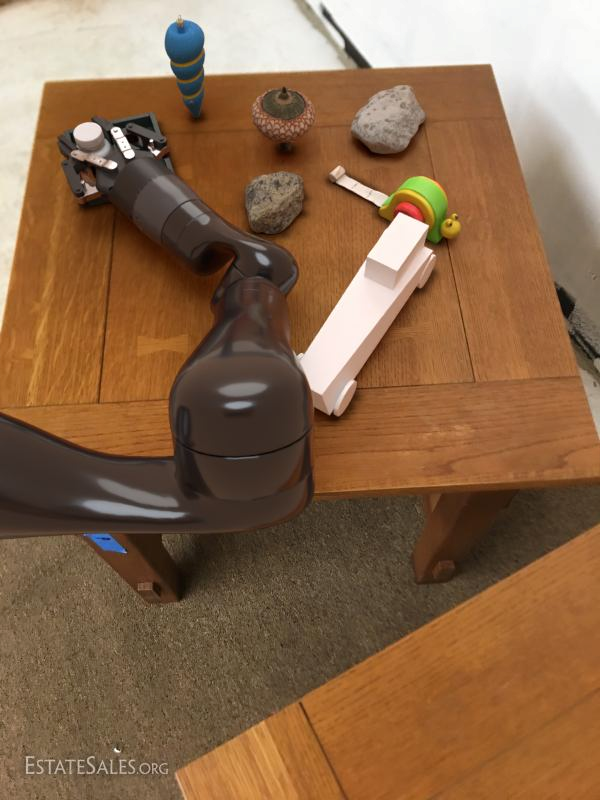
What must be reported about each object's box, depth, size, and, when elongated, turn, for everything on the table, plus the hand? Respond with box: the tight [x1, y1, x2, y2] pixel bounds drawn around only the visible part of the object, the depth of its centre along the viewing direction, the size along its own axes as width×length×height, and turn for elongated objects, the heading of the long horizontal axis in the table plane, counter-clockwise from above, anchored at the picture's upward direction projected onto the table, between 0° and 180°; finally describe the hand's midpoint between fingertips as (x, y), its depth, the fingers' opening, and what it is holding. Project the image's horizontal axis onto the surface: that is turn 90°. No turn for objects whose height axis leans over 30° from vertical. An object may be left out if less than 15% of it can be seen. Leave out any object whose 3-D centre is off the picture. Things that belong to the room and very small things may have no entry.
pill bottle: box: [73, 121, 113, 187], centre depth 82 cm, size 4×4×8 cm
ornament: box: [163, 14, 206, 119], centre depth 86 cm, size 5×5×15 cm
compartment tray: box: [63, 111, 175, 208], centre depth 87 cm, size 12×12×2 cm
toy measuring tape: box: [328, 165, 462, 245], centre depth 82 cm, size 6×20×7 cm, turn 51°
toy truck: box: [296, 212, 437, 417], centre depth 72 cm, size 25×7×9 cm, turn 148°
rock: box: [244, 170, 305, 235], centre depth 82 cm, size 7×8×4 cm
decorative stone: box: [350, 84, 427, 155], centre depth 90 cm, size 12×11×5 cm
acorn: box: [251, 86, 316, 152], centre depth 85 cm, size 8×8×10 cm
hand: (78, 132), depth 81 cm, fingers closed on pill bottle, 4 cm apart
